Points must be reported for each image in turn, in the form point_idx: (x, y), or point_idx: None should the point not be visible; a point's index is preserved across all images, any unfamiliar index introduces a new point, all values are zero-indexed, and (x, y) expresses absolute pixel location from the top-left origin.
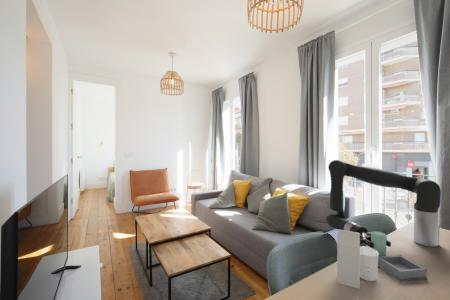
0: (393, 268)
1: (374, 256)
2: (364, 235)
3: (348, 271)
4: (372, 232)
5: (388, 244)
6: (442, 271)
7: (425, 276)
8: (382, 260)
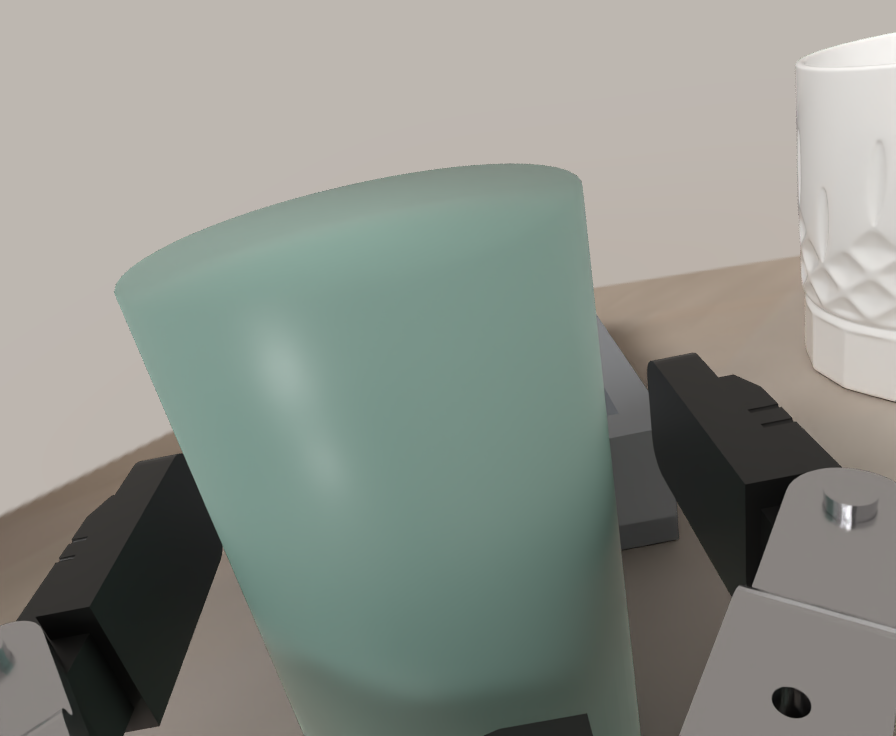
0: None
1: (867, 46)
2: (767, 704)
3: None
4: (490, 230)
5: (198, 523)
6: (22, 514)
7: None
8: (638, 380)
